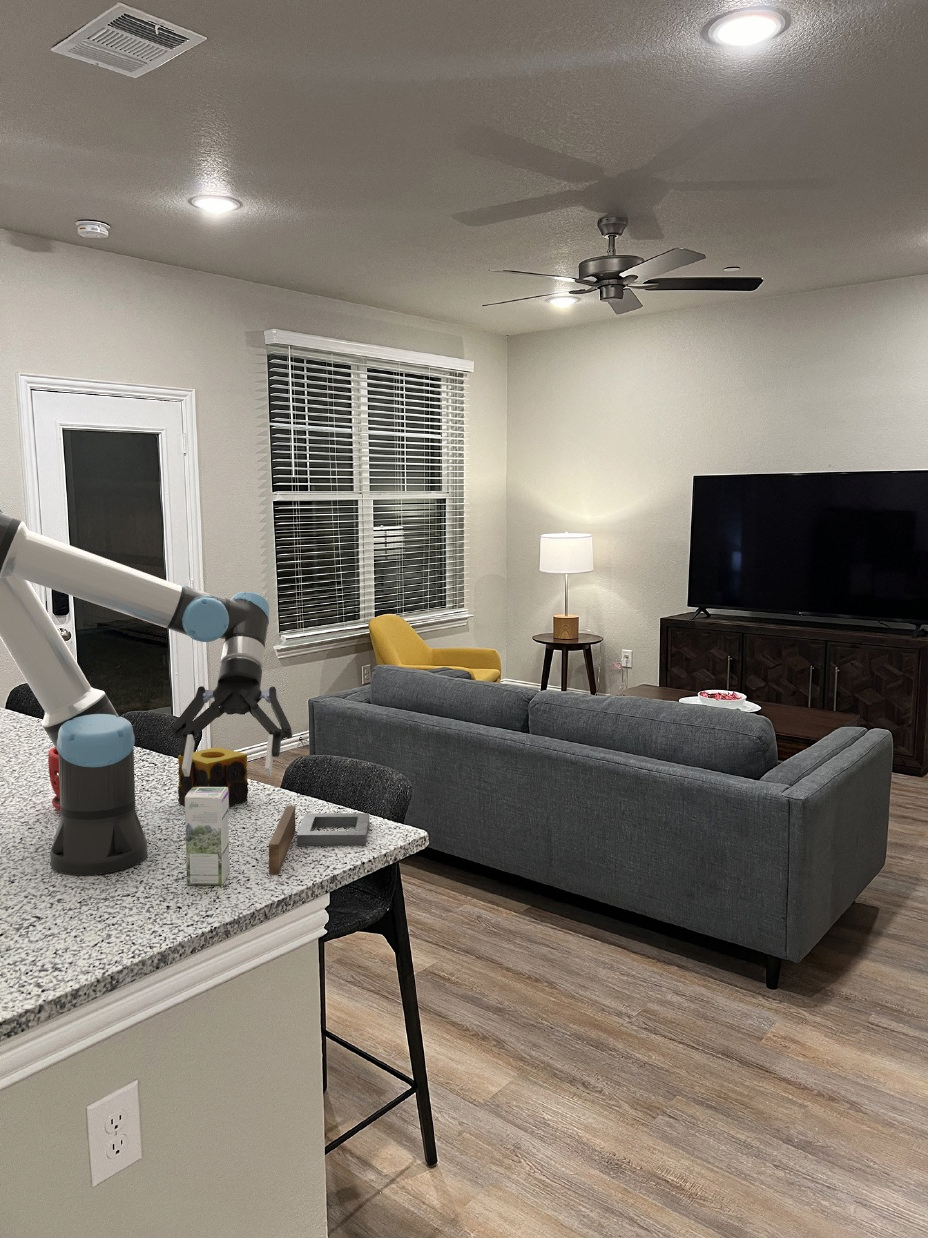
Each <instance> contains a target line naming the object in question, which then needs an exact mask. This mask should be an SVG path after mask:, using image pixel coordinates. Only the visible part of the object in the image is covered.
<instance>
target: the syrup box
mask: <svg viewBox="0 0 928 1238" xmlns="http://www.w3.org/2000/svg"><path fill="white" fill-rule="evenodd" d="M229 808H230V807H229V794H228V787H193V788H192V789H191V790H190V791H189V792H188V793H187V795H186V796H185V806H184V816H185V818H184V819H185V821H184V822H185V865H186V869H185V870H186V885H187V886H222V885H223V884H224V883H225V881H226V879H227V878H228V875H229V873H230V872H231V870H230V868H231V867H230V839H229V837H230V833H229V831H230V826H229V825H230V823H229V821H230V820H229V819H230V817H229V816H230V815H229V814H230V813H229V811H230V810H229Z"/></svg>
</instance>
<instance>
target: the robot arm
mask: <svg viewBox="0 0 928 1238" xmlns="http://www.w3.org/2000/svg"><path fill="white" fill-rule="evenodd" d="M32 583H34V584H37V585H39V586H43V587H46V588H48V589H51V590H53V591H56V592H60V593H64V594H65V595H69V596H71V597H75V598H77V599H80V600H83V601H87V602H90V603H92V604H95V605H98V606H102V607H103V608H104V607H105V608H107V609H110V610H112V611H116V612H119V613H122V614H124V615H128V616H130V617H133V618H137V619H139V620H142V621H144V622H145V621H146V622H148V623H151V624H154V625H157V626H160V627H163V628H166V629H167V630H168V629H169V630H170V631H174V632H176V633H179V634H181V635H185V636H188V637H189V638H190V639H191V640H194V641H195V642H196V641H197V642H200V643H210V642H214V641H217V640H218V639H222V640H223V644H222V645H223V646H222V651H221V652H222V653H221V657H220V666H219V671H218V676H217V677H218V678H217V684H216V687H215V689H212V690H211V689H205V686H203V685H201V686H199V687H198V688H197V689H196V693H195V696H194V698H193V699H192V700H191V702H189V704H188V705H187V706H186V708H185V709H184V711H183V712H182V713H181V714H180V716H179V717H178V718H177V719H176V721H175V722H174V723H173V725H172V726H171V728H170V729H171V733H172V735H173V737H174V738H175V739H180V742H179V749H178V751H179V755H181V757H184V758H183V764H182V771H183V773H184V776H189V775H190V769H191V763H192V757H193V752H195V744H196V741H195V739H194V738H195V737H196V736H197V735H199V734H200V732H202V731H203V730H204V729H205V728H207V727H208V726H209V725H210V724H211V723H212V722H213V721H215V719H217V718H220V717H221V716H223V715H224V714H226V715H229V716H230V715H231V716H232V715H236V714H237V715H246V714H248V713H250V715H251V716H252V717H253V718H255V720H256V721H258V723H259V725H261V726H262V727H263V728H264V729H265V731H266V732H267V733H268V735H267V744H266V753H265V762H264V773H265V775H266V776H265V777H271V776H272V771H273V763H274V762H273V761H274V758H279V756H280V755H281V744H282V741H283V740H284V739H291V738H293V730H292V726H291V724H290V722H289V720H288V719H287V716H286V715H285V712H284V710H283V708H282V706H281V704H280V702H279V700H278V693H277V689H276V688H277V687H276V686H270V687H269V689H266V690H265V689H264V690H263V689H262V690H261V684H262V677H263V668H264V661H265V659H264V658H265V652H266V651H265V650H266V642H267V634H268V627H269V624H270V606H269V605H270V604H269V602H268V600H267V599H266V598H265V597H264V596H262V595H261V594H259V593H257V592H254V591H249V592H245V591H241V592H240V591H239V592H237V593H235V594H234V595H233V596H232V597H231V598H226V597H222V596H218V595H215V594H213V593H208V592H207V591H203V590H199V589H195V588H192V587H191V586H186V585H181V584H178V583H174V582H172V581H168V580H165V579H162V578H159V577H157V576H155V575H152V574H149V573H146V572H143V571H141V570H138V569H136V568H132V567H130V566H127V565H124V564H122V563H118V562H116V561H114V560H111V559H108V558H105V557H103V556H100V555H97V554H94V553H92V552H89V551H86V550H84V549H80V548H78V547H75V546H72V545H70V544H68V543H64V542H61V541H58V540H56V539H53V538H50V537H47V536H45V535H42V534H40V533H37V532H34V531H31V530H29V528H28V527H27V525H26V523H25V522H24V521H22V520H21V519H17V518H14V517H12V516H9V515H6V513H4V512H3V510H2V509H1V508H0V640H1V641H2V644H3V646H4V647H5V648H6V650H7V651H8V653H9V655H10V657H11V658H12V659H13V662H14V663H15V665H16V667H17V669H18V670H19V671H20V673H21V675H22V676H23V678H24V679H25V681H26V683H27V685H28V686H29V688H30V690H31V691H32V693H33V694H34V696H35V698H36V699H37V701H38V703H39V704H40V707H42V710H43V711H44V716H43V720H42V723H41V726H42V728H43V729H44V730H45V733H46V735H48V738H49V739H50V741H51V742H52V745H53V746H54V747H56V749H57V751H58V755H59V773H58V776H59V784H60V811H59V812H60V819H59V822H58V825H57V827H56V832H55V835H54V837H53V841H52V845H51V848H50V852H49V853H50V854H49V855H50V856H49V858H50V867H51V868H52V869H53V870H54V871H56V872H59V873H62V874H65V875H66V874H67V875H75V876H95V875H103V874H110V873H114V872H119V871H122V870H126V869H130V868H131V867H135V866H136V865H138V864H140V863H141V862H142V861H144V860H146V858H147V856H148V839H147V837H146V835H145V832H144V829H143V826H142V824H141V822H140V819H139V817H138V814H137V810H136V785H135V781H136V780H135V743H136V739H135V738H136V737H135V734H134V728H133V725H132V723H131V722H130V721H129V720H128V719H127V718H125V717H122V716H120V715H119V713H117V711H116V709H115V708H114V705H113V704H112V702H111V701H110V699H109V697H108V696H107V694H106V692H105V691H104V690H100V689H97V688H94V687H92V686H91V684H90V683H89V681H88V680H87V678H86V676H85V674H84V673H83V671H82V669H81V667H80V665H79V664H78V662H77V661H76V659H75V657H74V655H73V654H72V651H71V650H70V649H69V647H68V645H67V643H66V642H65V640H64V638H63V636H62V634H61V633H60V631H59V630H58V628H57V626H56V625H55V623H54V620H52V618H51V616H50V615H49V613H48V611H47V609H46V607H45V606H44V604H43V603H42V600H41V598H40V597H39V596H38V593H37V592H36V591H35V588H34V587H33V586H32ZM211 699H213V701H212V702H211V703H210V705H209V707H207V708H206V709H205V710H204V711H203V712H202V713H200V712H201V710H202V709H203V708H204V707H205V704H207V703H209V700H211ZM262 699H264V700H265V702H266V703H268V704H270V707H271V709H272V712H273V714H274V716H275V718H276V720H277V722H278V724H279V727H278V726H277V725H276V724H275V723H274V722H273V720H271V718H270V717H269V716H268V714H267V713H266V712H264V710H263V709H262V708H261V707H260V706H259V704H258V703H259V702H260V701H261V700H262ZM199 713H200V714H199ZM198 714H199V715H198Z"/></svg>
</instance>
